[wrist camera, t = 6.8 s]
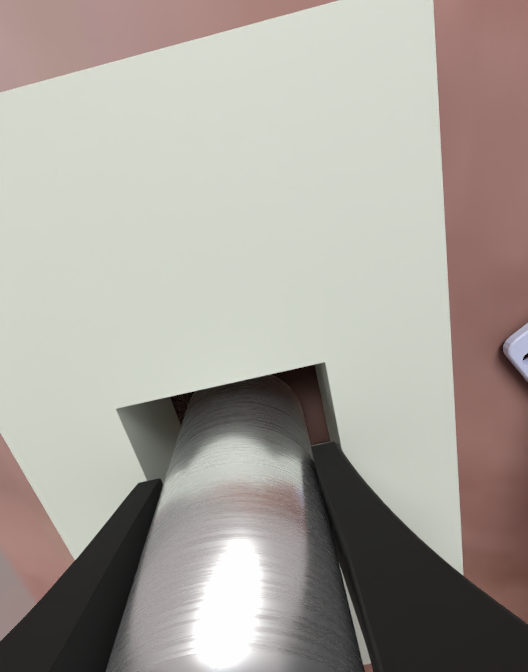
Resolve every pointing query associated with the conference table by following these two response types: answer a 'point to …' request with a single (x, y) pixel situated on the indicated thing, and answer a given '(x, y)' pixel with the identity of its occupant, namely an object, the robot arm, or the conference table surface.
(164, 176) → the pin board
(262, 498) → the tall pin
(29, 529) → the conference table surface
